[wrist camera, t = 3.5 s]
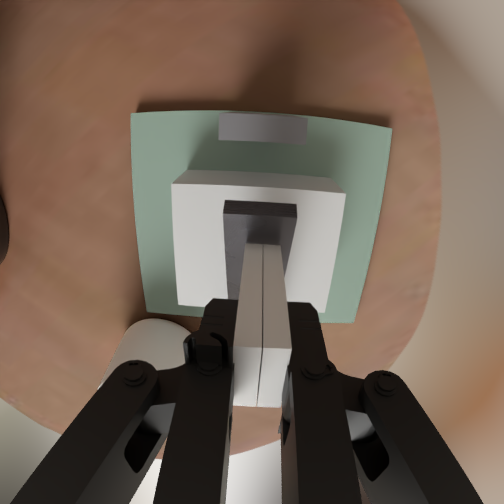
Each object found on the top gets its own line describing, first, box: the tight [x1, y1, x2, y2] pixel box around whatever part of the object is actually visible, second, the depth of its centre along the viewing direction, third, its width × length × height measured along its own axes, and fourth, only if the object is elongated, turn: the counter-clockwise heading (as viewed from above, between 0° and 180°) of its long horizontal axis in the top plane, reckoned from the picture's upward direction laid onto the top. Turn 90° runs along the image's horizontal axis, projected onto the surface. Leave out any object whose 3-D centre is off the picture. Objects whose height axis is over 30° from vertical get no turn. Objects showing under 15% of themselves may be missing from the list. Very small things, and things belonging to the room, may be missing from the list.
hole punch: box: [131, 110, 392, 323], centre depth 25 cm, size 22×20×9 cm
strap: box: [223, 200, 297, 300], centre depth 19 cm, size 4×17×1 cm, turn 177°
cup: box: [98, 319, 191, 389], centre depth 31 cm, size 10×10×10 cm
